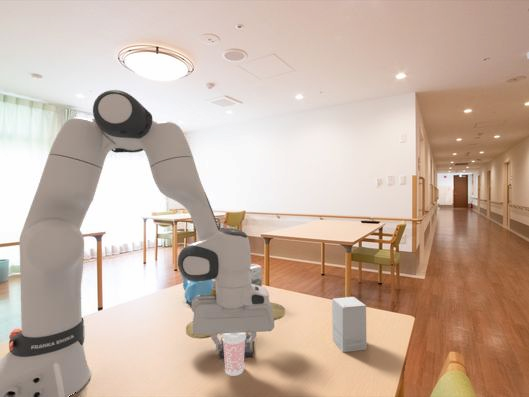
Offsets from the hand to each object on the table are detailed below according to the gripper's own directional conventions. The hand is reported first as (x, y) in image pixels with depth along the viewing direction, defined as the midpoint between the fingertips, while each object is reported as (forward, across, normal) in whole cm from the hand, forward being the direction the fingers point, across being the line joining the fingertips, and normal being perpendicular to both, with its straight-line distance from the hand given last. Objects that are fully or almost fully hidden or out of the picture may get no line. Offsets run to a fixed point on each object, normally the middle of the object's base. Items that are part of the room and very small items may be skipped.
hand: (234, 348), depth 70 cm
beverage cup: (+6, 0, 0) cm, 6 cm away
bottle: (+6, -5, +27) cm, 28 cm away
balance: (+5, 0, +9) cm, 11 cm away
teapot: (+6, -15, +50) cm, 53 cm away
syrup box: (+6, +6, +45) cm, 46 cm away
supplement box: (+6, +33, +9) cm, 35 cm away
